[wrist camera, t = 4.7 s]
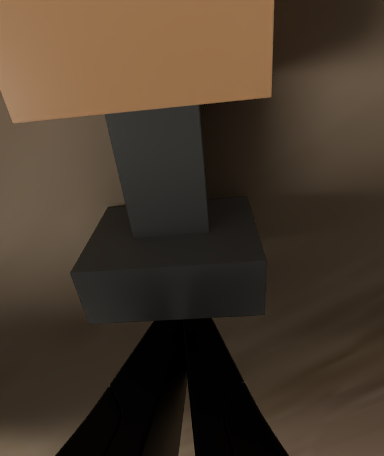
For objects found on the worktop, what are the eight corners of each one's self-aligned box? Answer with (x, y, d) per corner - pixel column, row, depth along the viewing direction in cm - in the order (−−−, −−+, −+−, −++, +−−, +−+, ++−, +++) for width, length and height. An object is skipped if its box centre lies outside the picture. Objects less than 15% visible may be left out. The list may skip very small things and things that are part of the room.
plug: (247, 241, 9) (264, 315, 7) (118, 249, 10) (89, 323, 7) (241, -350, 4) (301, -930, 2) (-26, -296, 5) (-309, -724, 2)
